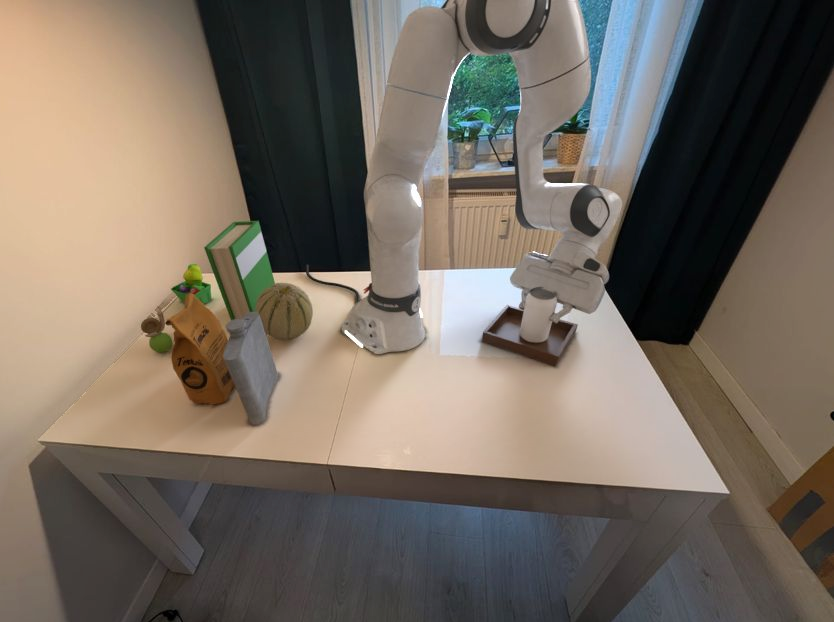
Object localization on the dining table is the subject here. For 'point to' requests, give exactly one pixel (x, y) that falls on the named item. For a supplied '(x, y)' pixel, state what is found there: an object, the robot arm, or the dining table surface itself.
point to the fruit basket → (193, 285)
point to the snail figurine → (157, 333)
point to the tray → (508, 337)
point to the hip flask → (250, 364)
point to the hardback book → (240, 266)
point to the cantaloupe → (284, 311)
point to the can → (537, 315)
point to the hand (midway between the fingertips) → (536, 315)
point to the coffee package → (200, 353)
